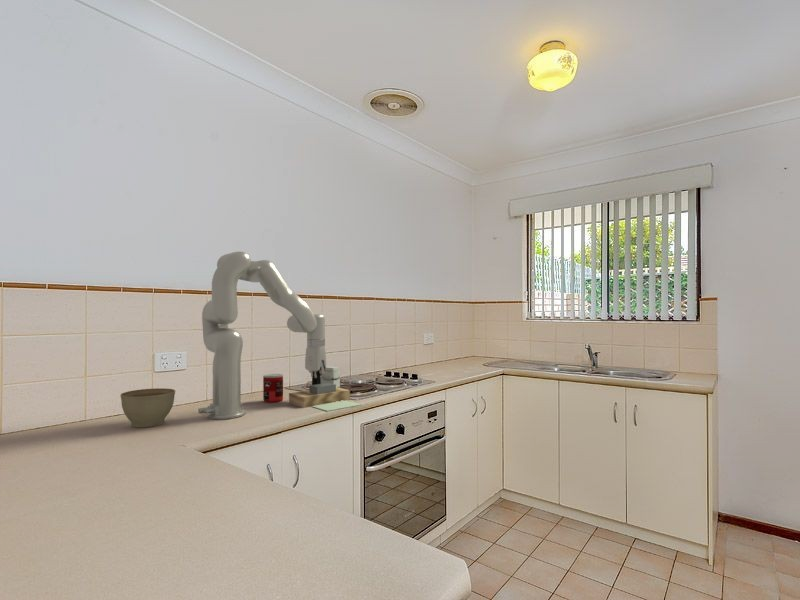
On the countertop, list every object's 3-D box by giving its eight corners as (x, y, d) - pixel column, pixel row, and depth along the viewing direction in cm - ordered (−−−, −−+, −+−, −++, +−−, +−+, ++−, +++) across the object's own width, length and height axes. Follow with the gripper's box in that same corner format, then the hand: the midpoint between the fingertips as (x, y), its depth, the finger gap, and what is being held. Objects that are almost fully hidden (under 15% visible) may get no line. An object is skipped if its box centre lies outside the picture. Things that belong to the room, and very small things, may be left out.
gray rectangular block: (317, 394, 179) (317, 387, 179) (309, 392, 184) (309, 385, 184) (335, 391, 185) (335, 384, 185) (327, 389, 190) (327, 382, 190)
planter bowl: (151, 431, 140) (151, 397, 141) (108, 429, 144) (108, 395, 144) (185, 419, 156) (185, 388, 156) (145, 417, 159) (146, 387, 160)
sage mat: (327, 411, 167) (327, 410, 167) (311, 406, 175) (311, 406, 175) (361, 405, 177) (361, 404, 177) (345, 401, 186) (345, 400, 186)
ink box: (340, 392, 205) (340, 366, 205) (333, 394, 201) (333, 368, 201) (326, 390, 210) (326, 365, 210) (319, 392, 205) (319, 366, 206)
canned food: (263, 400, 189) (263, 374, 189) (282, 398, 191) (282, 373, 192) (263, 403, 182) (263, 376, 182) (283, 402, 184) (283, 375, 184)
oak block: (303, 407, 174) (303, 397, 174) (289, 403, 183) (288, 393, 183) (349, 399, 188) (349, 390, 188) (334, 395, 197) (334, 386, 197)
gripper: (299, 343, 191) (299, 386, 191) (318, 345, 180) (318, 390, 180) (314, 342, 196) (314, 383, 196) (333, 343, 185) (333, 388, 185)
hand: (316, 386), depth 188 cm, fingers closed
